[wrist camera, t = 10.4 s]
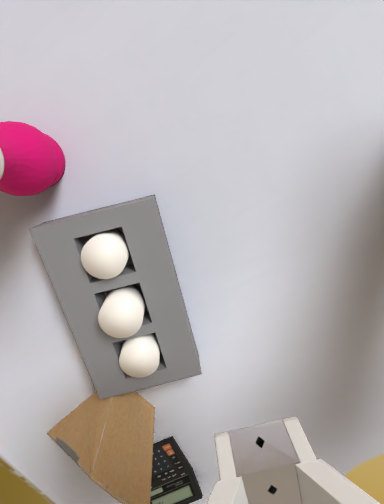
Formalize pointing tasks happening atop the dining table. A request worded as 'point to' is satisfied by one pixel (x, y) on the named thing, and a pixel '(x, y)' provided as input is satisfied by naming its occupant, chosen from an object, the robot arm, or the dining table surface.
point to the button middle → (122, 312)
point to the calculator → (172, 475)
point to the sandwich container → (112, 444)
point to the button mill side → (105, 254)
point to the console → (134, 273)
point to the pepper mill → (28, 159)
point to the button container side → (140, 355)
